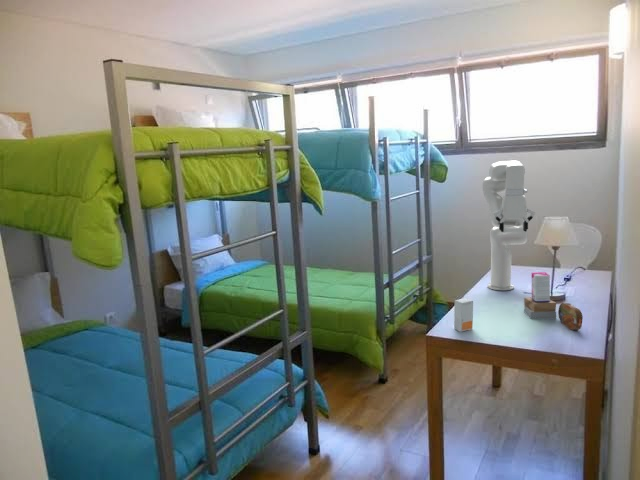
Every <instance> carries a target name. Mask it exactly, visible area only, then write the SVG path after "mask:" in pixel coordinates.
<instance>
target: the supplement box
mask: <svg viewBox="0 0 640 480" xmlns="http://www.w3.org/2000/svg"><path fill="white" fill-rule="evenodd" d="M550 278H551V277H550V274H548V272H545V271H542V272H539V271H538V272H531V297H532V299H533V300H534V301H535V302H536V303H539V302H550V300H551V294H550V293H551V292H550V291H551V290H550V289H551V285H550V283H551V281H550Z"/></svg>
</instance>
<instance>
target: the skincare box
mask: <svg viewBox="0 0 640 480" xmlns="http://www.w3.org/2000/svg"><path fill="white" fill-rule="evenodd" d="M453 310H454V311H453V312H454V313H453V315H454V316H453V317H454V319H453V320H454V321H453V328H454V329H455V330H456V331H459V332H460V333H461V332H465V331H470V330H473V326H474V323H473V321H474V320H473V318H474V300H473V299H469V298H468V297H465V298H460V299H454V309H453Z"/></svg>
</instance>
